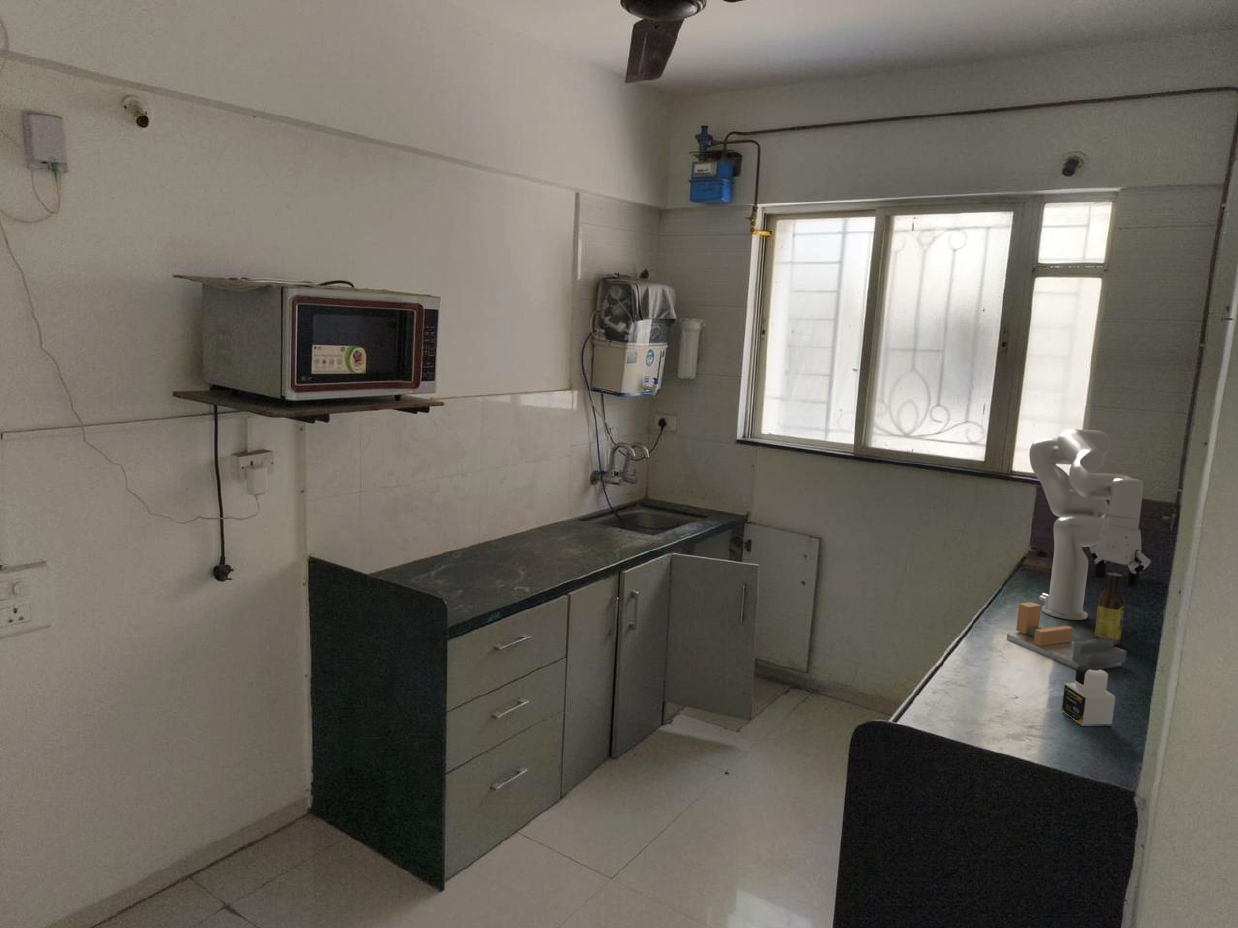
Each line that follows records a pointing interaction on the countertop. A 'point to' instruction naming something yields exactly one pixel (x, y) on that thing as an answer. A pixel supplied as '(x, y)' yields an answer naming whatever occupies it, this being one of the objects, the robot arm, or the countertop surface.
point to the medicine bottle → (1089, 696)
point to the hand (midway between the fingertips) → (1115, 581)
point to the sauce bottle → (1110, 609)
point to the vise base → (1051, 649)
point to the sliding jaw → (1030, 625)
